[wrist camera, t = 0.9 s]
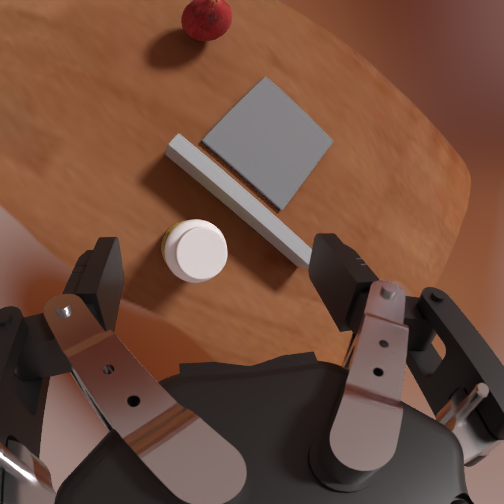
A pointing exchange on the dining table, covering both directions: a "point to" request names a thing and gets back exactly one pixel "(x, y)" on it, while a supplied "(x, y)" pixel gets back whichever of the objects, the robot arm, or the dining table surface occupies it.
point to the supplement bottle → (194, 250)
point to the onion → (206, 19)
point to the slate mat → (269, 142)
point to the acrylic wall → (238, 200)
